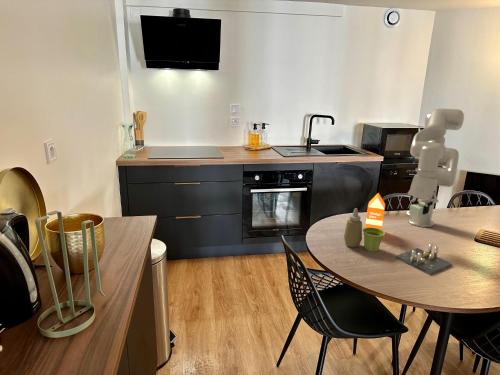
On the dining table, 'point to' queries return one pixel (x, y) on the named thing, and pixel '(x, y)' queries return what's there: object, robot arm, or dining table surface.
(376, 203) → the orange juice
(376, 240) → the plant pot
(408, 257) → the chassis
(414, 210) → the pale green block
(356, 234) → the squeeze bottle
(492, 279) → the dining table surface
